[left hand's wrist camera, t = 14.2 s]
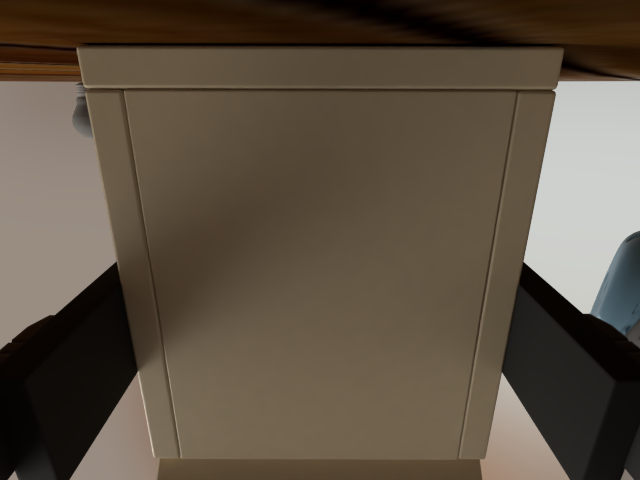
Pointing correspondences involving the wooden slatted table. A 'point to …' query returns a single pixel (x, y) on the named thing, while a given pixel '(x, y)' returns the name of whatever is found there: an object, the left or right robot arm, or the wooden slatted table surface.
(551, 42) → the wooden slatted table surface
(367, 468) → the lid
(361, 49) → the chest
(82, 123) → the light bulb
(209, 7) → the wooden slatted table surface
